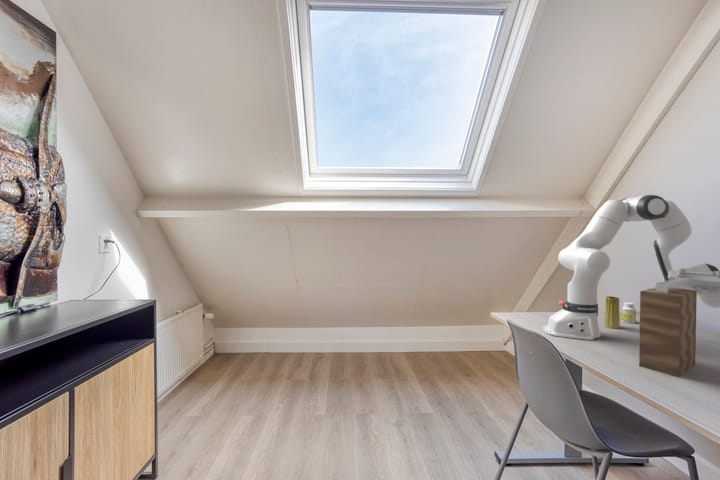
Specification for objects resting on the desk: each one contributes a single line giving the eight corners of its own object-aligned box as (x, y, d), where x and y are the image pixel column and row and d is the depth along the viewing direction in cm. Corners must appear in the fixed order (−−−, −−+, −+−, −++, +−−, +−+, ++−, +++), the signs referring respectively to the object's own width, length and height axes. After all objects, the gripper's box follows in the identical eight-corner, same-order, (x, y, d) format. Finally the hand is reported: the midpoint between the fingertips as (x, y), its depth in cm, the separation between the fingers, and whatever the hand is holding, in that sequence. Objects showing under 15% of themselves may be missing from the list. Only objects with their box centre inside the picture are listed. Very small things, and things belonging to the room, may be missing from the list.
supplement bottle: (627, 323, 162) (628, 304, 161) (619, 320, 167) (619, 302, 167) (638, 323, 162) (638, 304, 161) (629, 320, 167) (629, 301, 167)
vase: (623, 329, 153) (623, 299, 153) (608, 328, 154) (608, 298, 154) (615, 325, 159) (615, 296, 159) (601, 324, 160) (601, 296, 160)
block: (667, 293, 107) (667, 284, 107) (655, 292, 110) (655, 283, 110) (690, 286, 118) (690, 278, 118) (679, 285, 121) (679, 277, 121)
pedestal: (678, 377, 104) (679, 296, 103) (639, 366, 112) (640, 291, 112) (695, 365, 112) (696, 290, 111) (657, 356, 121) (658, 286, 120)
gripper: (674, 276, 143) (664, 262, 136) (746, 282, 125) (738, 266, 119) (671, 289, 141) (661, 275, 135) (743, 297, 124) (735, 282, 117)
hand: (697, 271), depth 127 cm, fingers open, 8 cm apart
